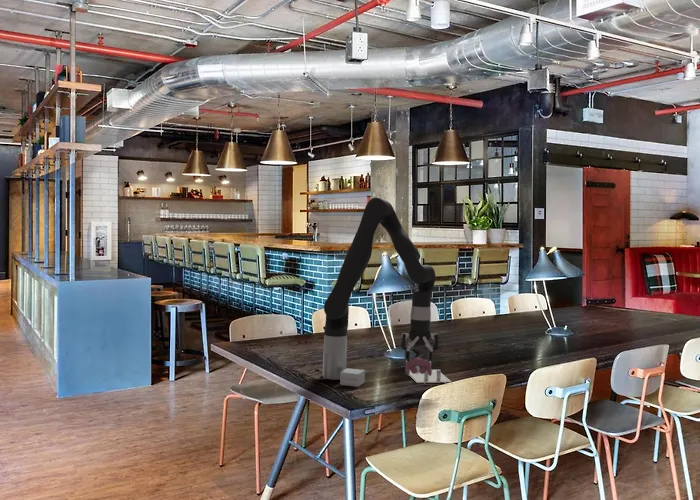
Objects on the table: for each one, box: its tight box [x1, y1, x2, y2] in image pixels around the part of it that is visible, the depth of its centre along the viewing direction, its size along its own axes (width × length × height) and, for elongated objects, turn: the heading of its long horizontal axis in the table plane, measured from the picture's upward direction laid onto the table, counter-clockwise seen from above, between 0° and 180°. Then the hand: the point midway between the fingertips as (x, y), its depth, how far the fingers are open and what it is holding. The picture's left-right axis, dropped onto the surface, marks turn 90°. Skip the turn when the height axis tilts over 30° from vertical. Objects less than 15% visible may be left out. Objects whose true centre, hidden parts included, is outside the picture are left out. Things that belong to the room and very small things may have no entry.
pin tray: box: [405, 360, 452, 385], centre depth 258 cm, size 14×20×5 cm
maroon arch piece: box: [405, 357, 433, 376], centre depth 239 cm, size 10×5×7 cm, turn 92°
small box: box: [339, 367, 366, 388], centre depth 246 cm, size 8×8×5 cm
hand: (418, 360), depth 239 cm, fingers closed on maroon arch piece, 7 cm apart
